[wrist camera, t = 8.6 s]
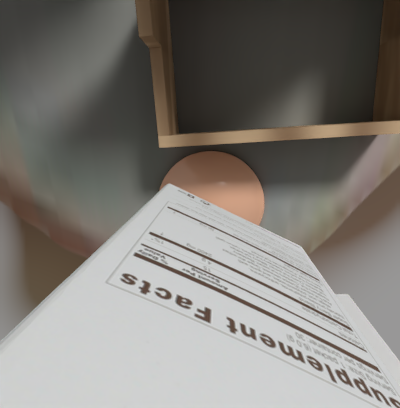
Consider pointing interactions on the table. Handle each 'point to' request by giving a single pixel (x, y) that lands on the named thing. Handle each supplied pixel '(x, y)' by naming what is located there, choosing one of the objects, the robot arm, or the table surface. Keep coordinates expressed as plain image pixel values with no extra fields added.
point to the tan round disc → (220, 183)
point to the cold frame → (169, 132)
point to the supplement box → (192, 324)
